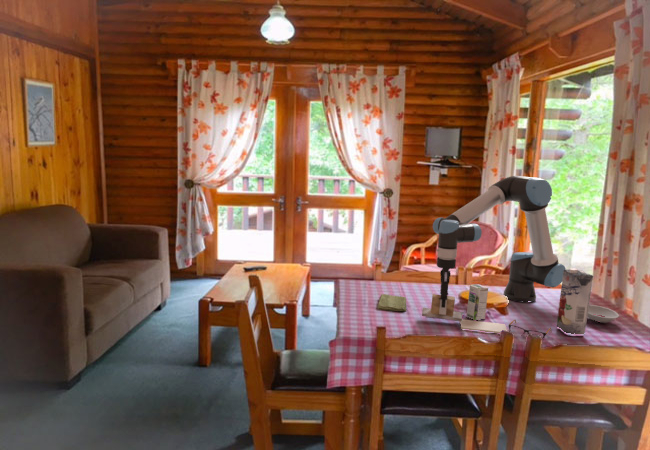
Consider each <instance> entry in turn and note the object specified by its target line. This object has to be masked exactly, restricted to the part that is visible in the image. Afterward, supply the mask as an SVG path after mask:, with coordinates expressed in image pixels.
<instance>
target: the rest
mask: <svg viewBox="0 0 650 450" xmlns="http://www.w3.org/2000/svg"><path fill="white" fill-rule="evenodd" d="M460 324H461V326H460V330H461V329H469V330H480V331H485V332H494V333H500V331H502V330H506V331H508V330H507V329H508V328H507V326H506V324H505V323H497V322H490V321H482V320H478V321H474V320H472V319H465V318H464V319H462V321H459V325H460Z"/></svg>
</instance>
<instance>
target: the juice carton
mask: <svg viewBox="0 0 650 450" xmlns="http://www.w3.org/2000/svg"><path fill="white" fill-rule="evenodd" d="M593 279H594V276H593V275H592V274H589V273H587V272H585V271H583V270H582V269H577V268H574V267H572V268H569V269H566V270H564V271H563V279H562V282H561V287H560V288H561V289H560V295H559V302H558V311H557V318H556V328H557V327H559V328H561V329H562V330H563V331H564V332H566V333H571V334H574V333H575V334H584V333H586V327H587V320H588V317H587V315H588V308H589V305H590V301H591V294H592V286H593ZM584 335H585V334H584Z"/></svg>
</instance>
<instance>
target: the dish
mask: <svg viewBox="0 0 650 450" xmlns="http://www.w3.org/2000/svg"><path fill="white" fill-rule="evenodd" d="M593 314H596V315H593ZM597 315H602V316H605V317H601V316H597ZM619 317H620V315H619V313H618V312H617V311H615V310H613V309H610V308H608V307H605V306H600V305H595V304H589V308H588V315H587V319H590V320H591V321H594V320H595V322H596V321H600V323H611V322H612V321H615V319H618V318H619Z"/></svg>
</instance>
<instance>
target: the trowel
mask: <svg viewBox="0 0 650 450" xmlns="http://www.w3.org/2000/svg"><path fill="white" fill-rule="evenodd" d="M431 296H432V297H431V305H430V308H429V307H428V308H427V307H422V309H421V310H422V311H421V316H422V317H425V318H432V317H434V319H435V318H436V319H442V320H451V321H458V322H460V321H462V315H461V312H462V311H456V312H454V311H455V302H456V299H455V296H450V295H447V298H448V299H447V307H446V315H442V314H439V309H440V299H439V298H440V297H441V294H435V293H434V294H433V293H432V295H431Z"/></svg>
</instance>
